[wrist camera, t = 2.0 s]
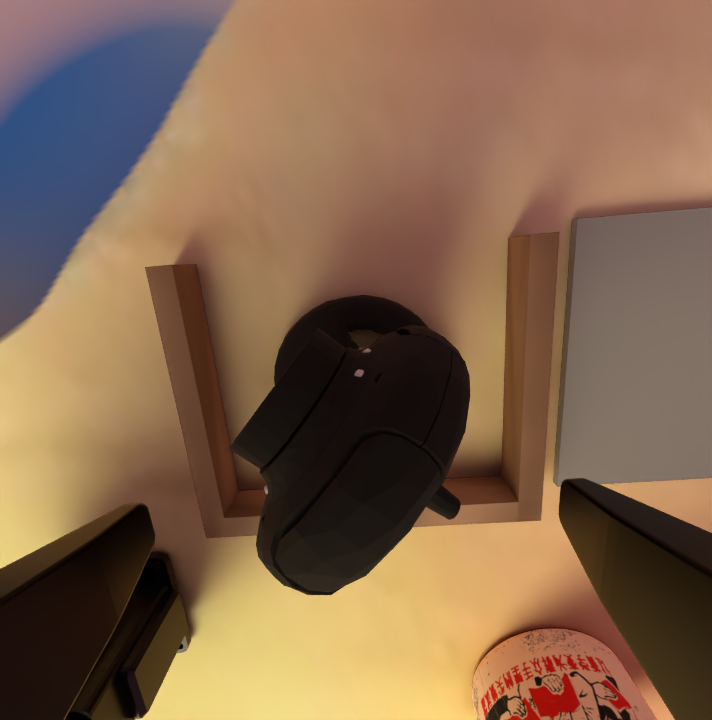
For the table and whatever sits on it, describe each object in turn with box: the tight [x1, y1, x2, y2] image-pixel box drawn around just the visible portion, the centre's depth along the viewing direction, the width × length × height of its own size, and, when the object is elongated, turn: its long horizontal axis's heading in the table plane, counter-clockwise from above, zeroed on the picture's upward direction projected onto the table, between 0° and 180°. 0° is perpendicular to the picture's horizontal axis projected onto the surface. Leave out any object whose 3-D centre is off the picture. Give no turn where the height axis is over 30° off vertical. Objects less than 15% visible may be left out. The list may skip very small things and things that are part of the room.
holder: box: [145, 232, 559, 538], centre depth 15 cm, size 15×12×2 cm
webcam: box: [229, 295, 470, 595], centre depth 12 cm, size 8×8×10 cm
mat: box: [553, 207, 712, 487], centre depth 15 cm, size 12×12×1 cm
